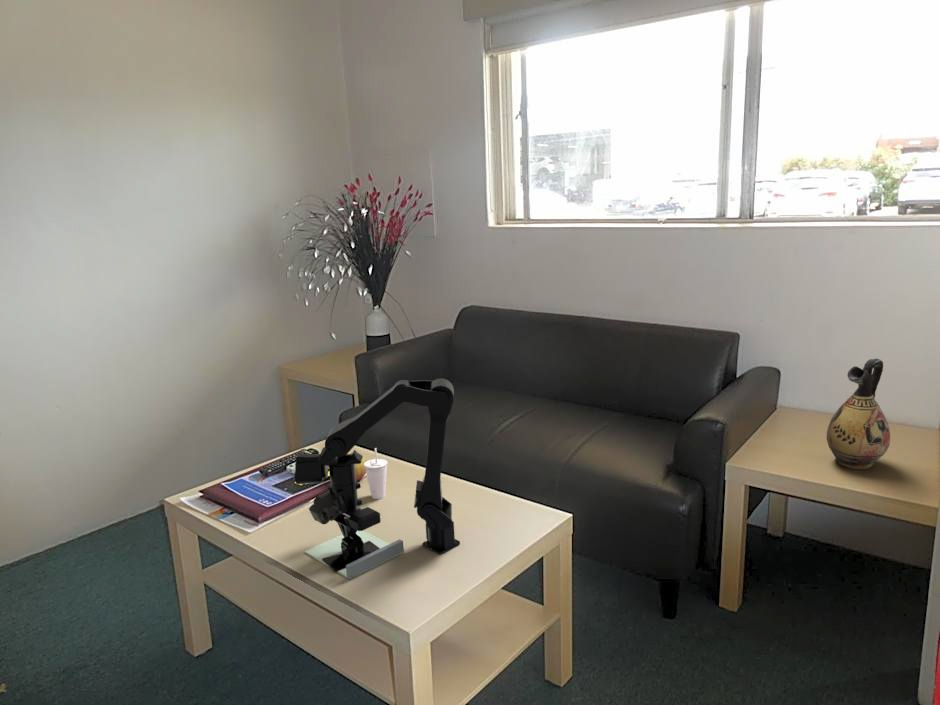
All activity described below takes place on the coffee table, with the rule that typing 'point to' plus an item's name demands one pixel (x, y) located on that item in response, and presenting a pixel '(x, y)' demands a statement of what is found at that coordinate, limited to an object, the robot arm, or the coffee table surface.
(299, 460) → the robot arm
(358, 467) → the apple
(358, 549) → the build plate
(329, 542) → the base plate
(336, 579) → the coffee table surface
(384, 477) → the smoothie
